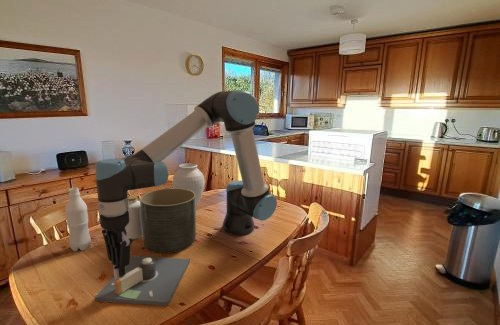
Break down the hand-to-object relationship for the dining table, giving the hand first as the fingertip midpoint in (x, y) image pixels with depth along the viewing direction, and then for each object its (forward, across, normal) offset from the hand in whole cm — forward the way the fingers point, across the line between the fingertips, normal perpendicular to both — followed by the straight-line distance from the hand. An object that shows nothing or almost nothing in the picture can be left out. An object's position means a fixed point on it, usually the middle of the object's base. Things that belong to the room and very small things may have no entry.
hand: (120, 283), depth 80 cm
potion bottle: (+3, -29, +22) cm, 37 cm away
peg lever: (+1, +2, +4) cm, 5 cm away
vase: (+3, -36, +60) cm, 70 cm away
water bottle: (+3, -37, +4) cm, 37 cm away
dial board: (+3, +2, +8) cm, 9 cm away
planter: (+3, -14, +29) cm, 33 cm away
